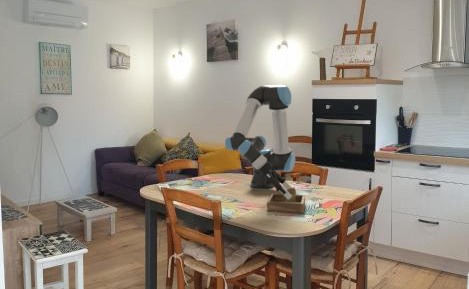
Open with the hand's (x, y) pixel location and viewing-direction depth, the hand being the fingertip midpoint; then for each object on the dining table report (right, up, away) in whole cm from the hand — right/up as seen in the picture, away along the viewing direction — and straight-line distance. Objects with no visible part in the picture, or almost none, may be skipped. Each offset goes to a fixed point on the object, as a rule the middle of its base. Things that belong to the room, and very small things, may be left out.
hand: (291, 194), depth 220 cm
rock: (-2, -6, +1) cm, 7 cm away
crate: (-2, -7, +1) cm, 7 cm away
